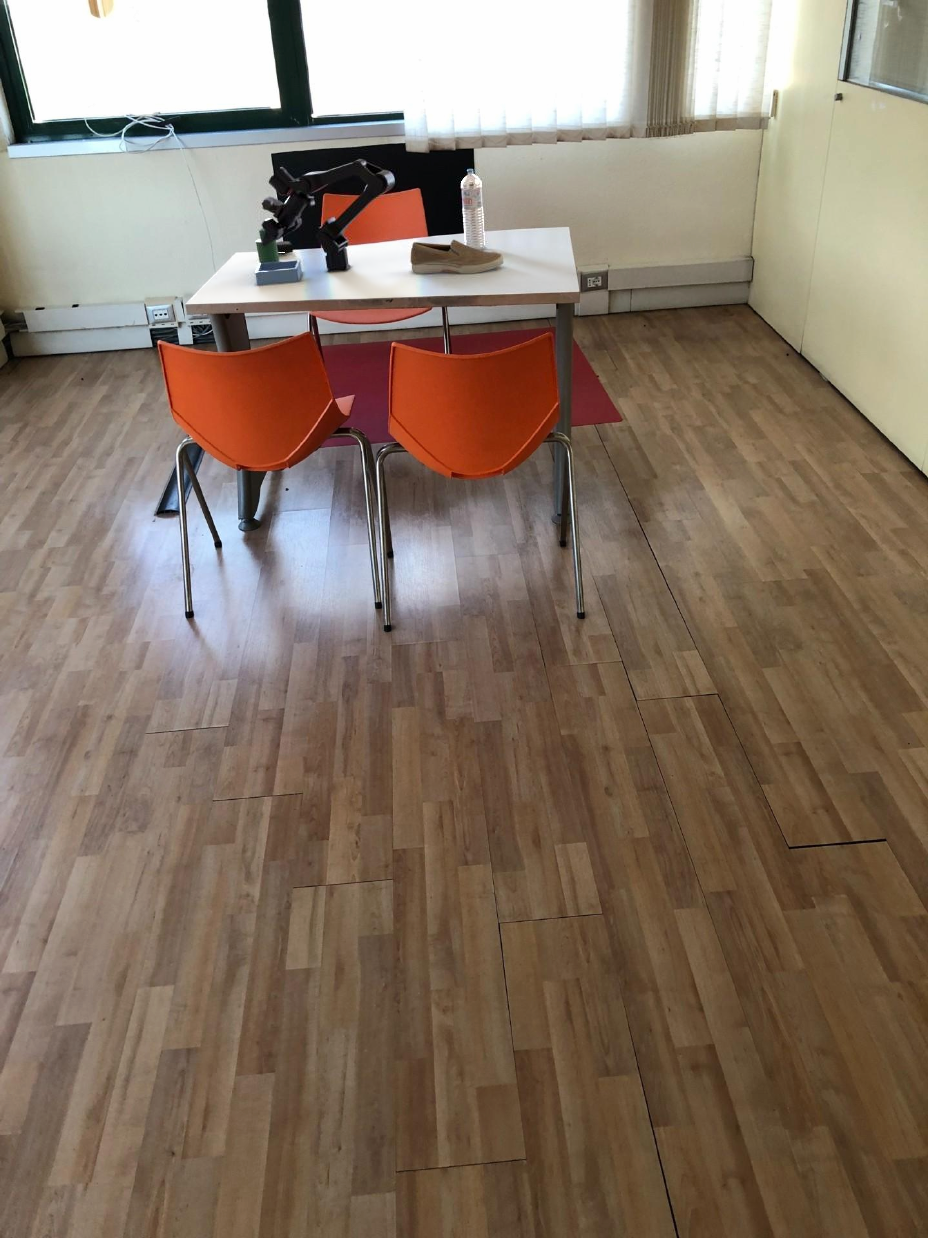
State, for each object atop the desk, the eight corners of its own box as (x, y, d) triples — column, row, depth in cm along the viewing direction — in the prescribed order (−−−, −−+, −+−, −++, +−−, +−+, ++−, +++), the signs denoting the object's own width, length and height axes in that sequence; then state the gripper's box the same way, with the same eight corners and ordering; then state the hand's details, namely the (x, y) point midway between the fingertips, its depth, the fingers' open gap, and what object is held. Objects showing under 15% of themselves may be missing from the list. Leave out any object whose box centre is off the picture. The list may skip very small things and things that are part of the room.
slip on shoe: (505, 263, 307) (504, 234, 303) (500, 272, 298) (498, 242, 293) (417, 266, 314) (414, 237, 309) (408, 275, 304) (405, 245, 300)
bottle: (283, 266, 328) (276, 226, 321) (277, 271, 322) (270, 230, 315) (264, 267, 329) (257, 227, 322) (258, 272, 323) (251, 231, 316)
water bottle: (462, 248, 330) (456, 169, 316) (479, 245, 332) (475, 166, 319) (470, 252, 325) (465, 171, 311) (488, 248, 327) (484, 168, 313)
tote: (301, 272, 318) (299, 259, 316) (299, 281, 308) (296, 268, 306) (261, 275, 318) (259, 263, 316) (257, 285, 308) (255, 272, 306)
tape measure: (274, 256, 341) (273, 245, 339) (272, 253, 347) (270, 242, 344) (294, 254, 342) (292, 243, 340) (291, 250, 348) (289, 239, 346)
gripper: (287, 182, 317) (263, 218, 326) (261, 193, 302) (237, 230, 311) (312, 207, 319) (288, 242, 328) (288, 219, 304) (263, 255, 314)
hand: (269, 242), depth 320 cm, fingers open, 9 cm apart
